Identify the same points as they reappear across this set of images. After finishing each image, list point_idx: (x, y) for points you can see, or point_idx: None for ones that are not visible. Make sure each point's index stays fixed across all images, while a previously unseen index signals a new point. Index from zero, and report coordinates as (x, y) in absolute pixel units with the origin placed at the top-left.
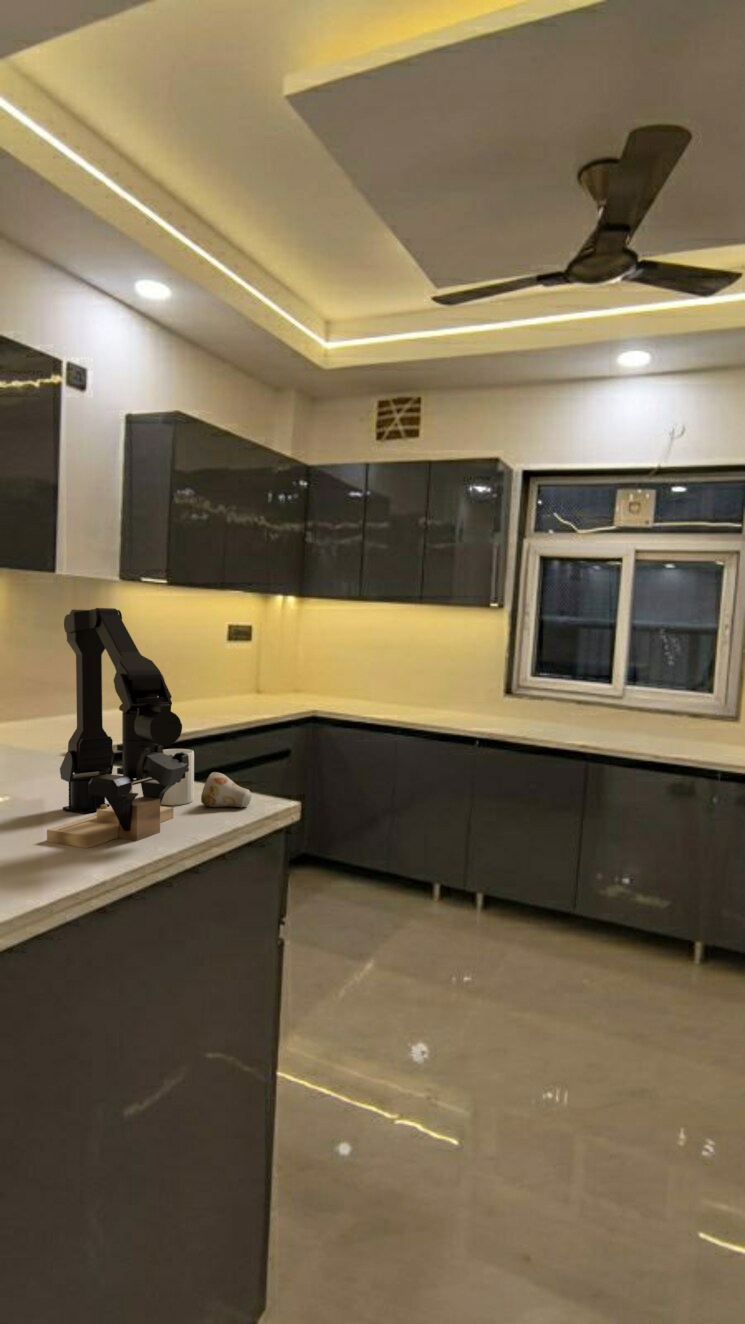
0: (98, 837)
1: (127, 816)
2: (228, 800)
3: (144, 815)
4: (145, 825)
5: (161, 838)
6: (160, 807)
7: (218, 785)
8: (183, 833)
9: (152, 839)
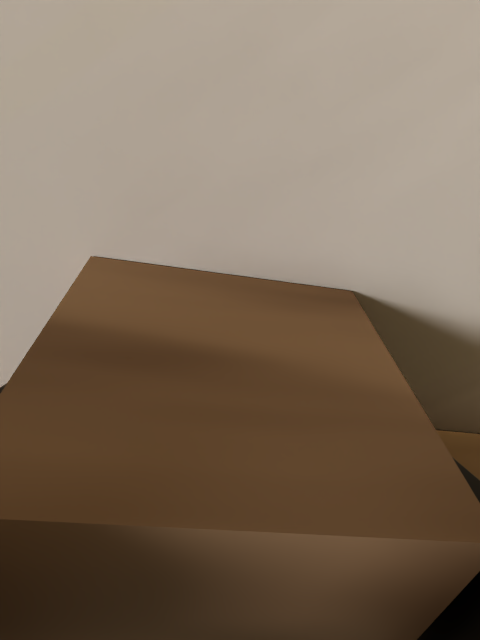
0: (471, 462)
1: (475, 479)
2: None
3: (307, 399)
4: (276, 329)
5: (246, 145)
6: None
7: None
8: (4, 9)
9: (293, 204)
